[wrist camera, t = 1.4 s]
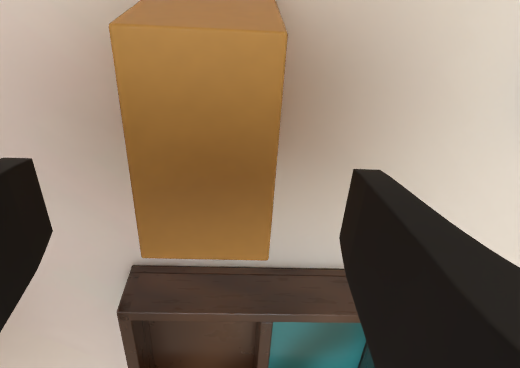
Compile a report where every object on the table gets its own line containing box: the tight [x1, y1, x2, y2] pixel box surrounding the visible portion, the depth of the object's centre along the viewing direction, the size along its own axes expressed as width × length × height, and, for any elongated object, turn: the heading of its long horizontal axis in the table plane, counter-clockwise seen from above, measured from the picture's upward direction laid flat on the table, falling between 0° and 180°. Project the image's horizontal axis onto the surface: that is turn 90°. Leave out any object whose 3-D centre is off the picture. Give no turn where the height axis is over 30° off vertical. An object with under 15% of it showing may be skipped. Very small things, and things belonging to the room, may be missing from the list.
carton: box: [109, 0, 288, 260], centre depth 13 cm, size 4×7×6 cm, turn 177°
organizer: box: [117, 266, 375, 368], centre depth 23 cm, size 14×11×3 cm
